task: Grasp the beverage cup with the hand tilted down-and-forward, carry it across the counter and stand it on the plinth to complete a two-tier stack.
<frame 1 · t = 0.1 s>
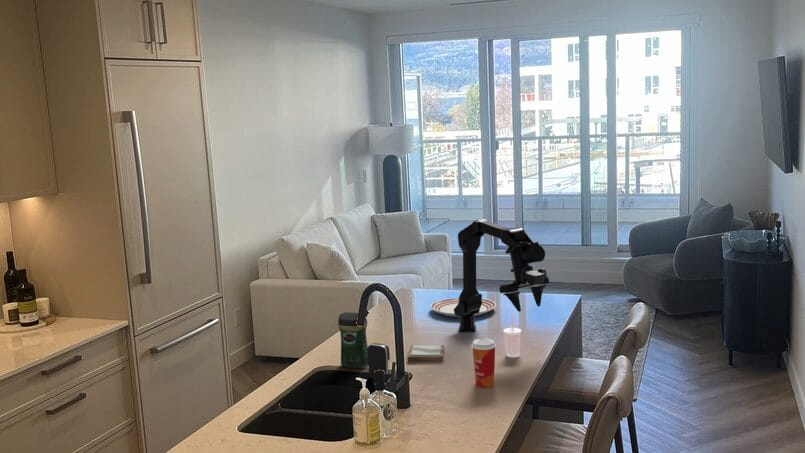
hand: (529, 308, 271), 15 cm above the counter, tool pointing down, fingers open, 9 cm apart
coffee jar: (355, 365, 268), on the counter
plinth: (426, 356, 274), on the counter
paper cup: (484, 385, 245), on the counter
dinner plate: (463, 312, 327), on the counter
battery: (380, 378, 256), on the counter
beverage cup: (513, 355, 271), on the counter
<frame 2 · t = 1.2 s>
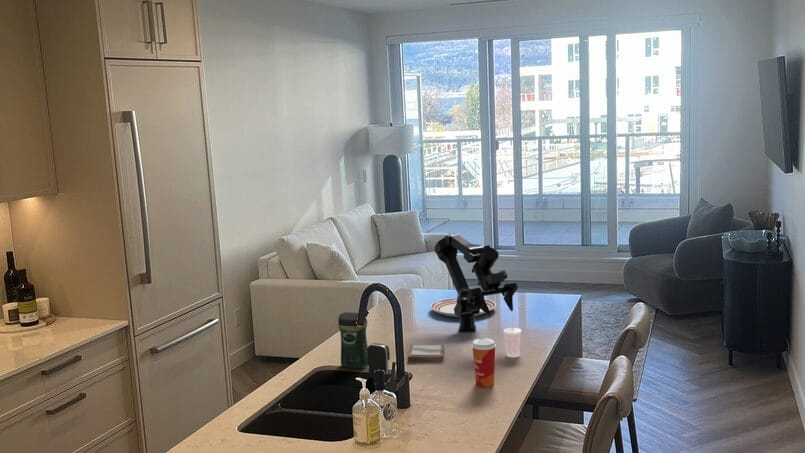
hand: (500, 312, 276), 13 cm above the counter, tool tilted 45°, fingers open, 9 cm apart
nothing on the counter moved.
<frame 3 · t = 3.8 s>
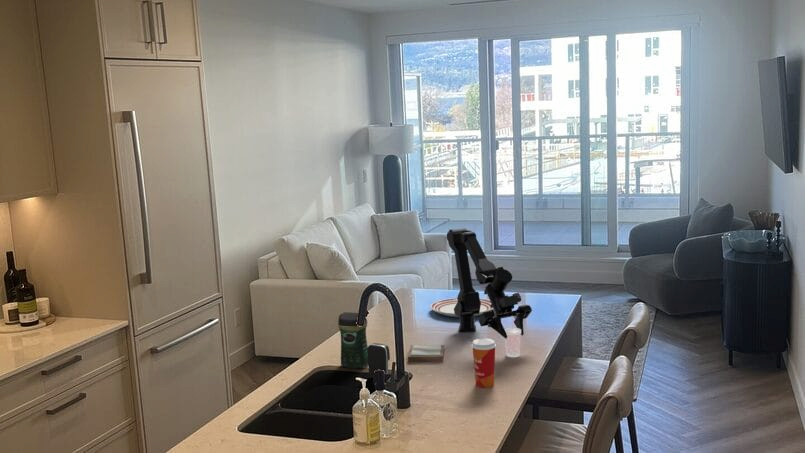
hand: (514, 336, 268), 7 cm above the counter, tool tilted 45°, fingers closed on beverage cup, 6 cm apart
beverage cup: (513, 355, 271), on the counter, touching gripper
everything else where it was.
when the fingers open (10 cm above the counter, at t = 8.3 s): beverage cup stays where it is, resting on plinth.
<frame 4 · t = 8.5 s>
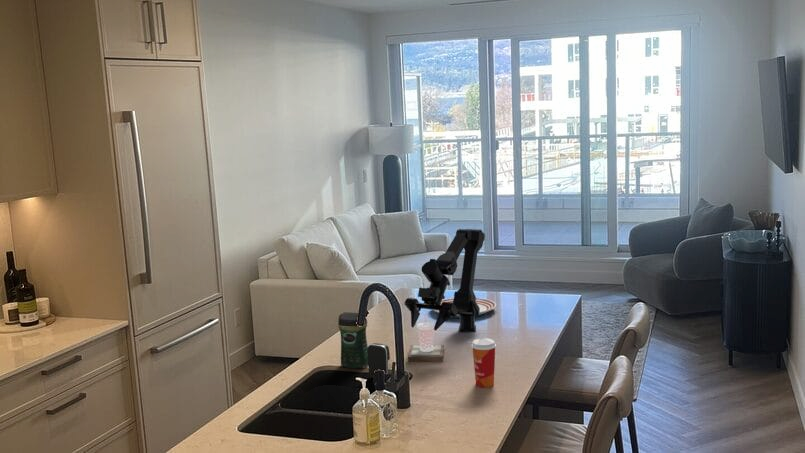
hand: (423, 328, 271), 11 cm above the counter, tool tilted 45°, fingers open, 9 cm apart
beverage cup: (426, 350, 273), point 2 cm above the counter, touching plinth
everything else where it was.
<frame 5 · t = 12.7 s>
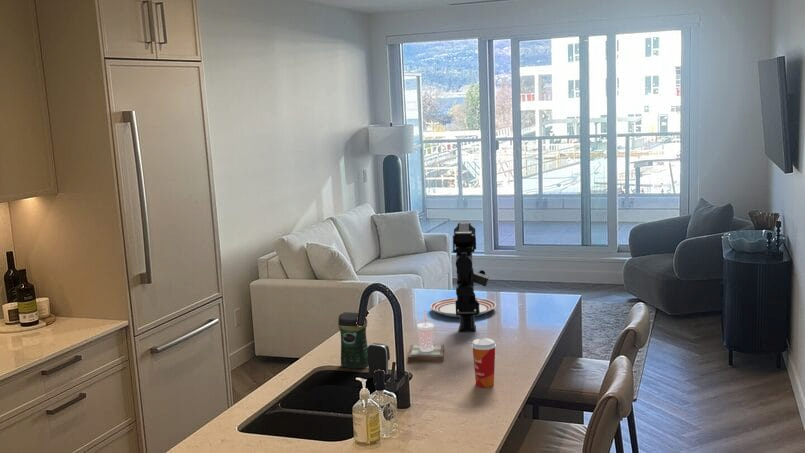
hand: (465, 307, 285), 13 cm above the counter, tool pointing down, fingers open, 9 cm apart
nothing on the counter moved.
at the end: beverage cup inside the target area on the plinth (0.1 cm from its centre), point 2.1 cm above the plinth's base; beverage cup tilted 0°; the gripper is holding nothing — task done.
